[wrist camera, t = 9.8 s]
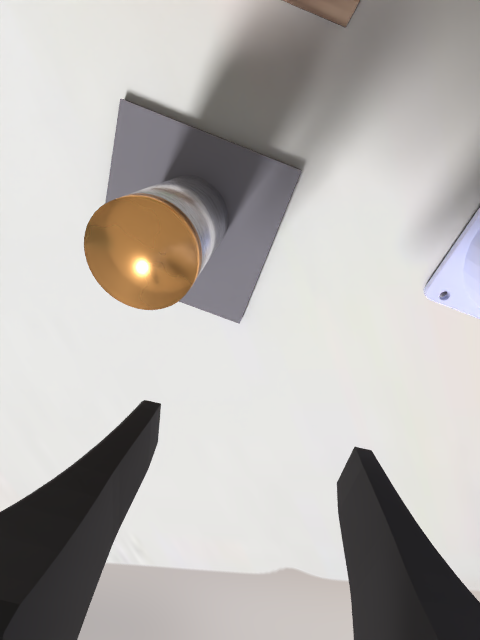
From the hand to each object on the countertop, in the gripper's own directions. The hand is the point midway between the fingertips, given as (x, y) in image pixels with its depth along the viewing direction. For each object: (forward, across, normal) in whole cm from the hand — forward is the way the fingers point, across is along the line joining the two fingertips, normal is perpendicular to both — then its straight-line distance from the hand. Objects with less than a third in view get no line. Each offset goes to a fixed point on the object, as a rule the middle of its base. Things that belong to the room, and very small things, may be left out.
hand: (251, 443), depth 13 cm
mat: (+9, +5, -5) cm, 12 cm away
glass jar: (+9, +5, -5) cm, 12 cm away
